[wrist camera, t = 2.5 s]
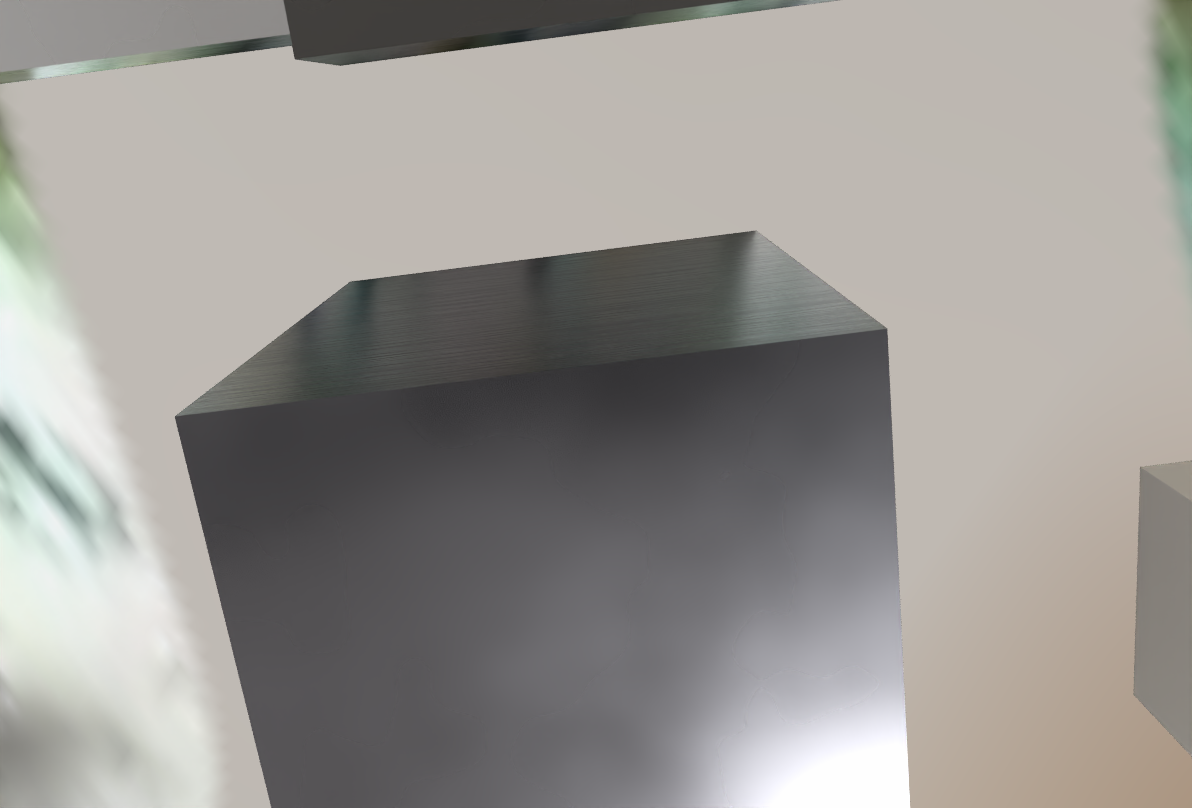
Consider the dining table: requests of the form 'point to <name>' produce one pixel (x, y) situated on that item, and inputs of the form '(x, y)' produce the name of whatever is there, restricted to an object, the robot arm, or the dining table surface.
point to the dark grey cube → (565, 538)
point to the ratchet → (306, 28)
